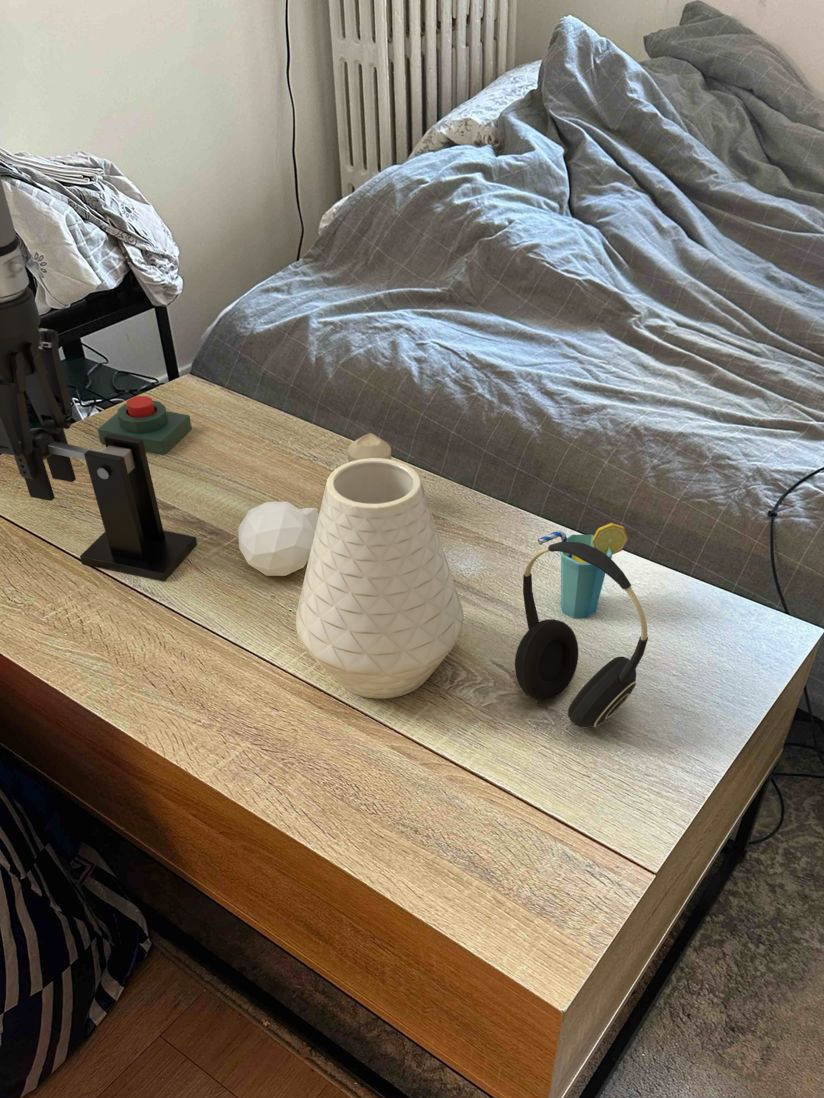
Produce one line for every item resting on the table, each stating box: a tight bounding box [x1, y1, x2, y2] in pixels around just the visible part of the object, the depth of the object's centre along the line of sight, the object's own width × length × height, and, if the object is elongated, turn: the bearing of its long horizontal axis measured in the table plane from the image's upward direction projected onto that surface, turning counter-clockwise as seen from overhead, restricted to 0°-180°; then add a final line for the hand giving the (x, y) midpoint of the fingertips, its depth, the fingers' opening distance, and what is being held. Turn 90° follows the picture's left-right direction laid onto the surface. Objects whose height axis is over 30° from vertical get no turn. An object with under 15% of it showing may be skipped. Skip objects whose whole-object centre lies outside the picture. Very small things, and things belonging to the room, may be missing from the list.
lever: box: [30, 427, 135, 474], centre depth 110 cm, size 13×4×4 cm, turn 75°
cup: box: [537, 522, 629, 619], centre depth 110 cm, size 11×6×12 cm, turn 117°
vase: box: [295, 458, 465, 700], centre depth 98 cm, size 18×17×23 cm
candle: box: [346, 432, 392, 463], centre depth 125 cm, size 6×6×10 cm
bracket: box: [79, 433, 198, 582], centre depth 113 cm, size 11×8×15 cm
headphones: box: [514, 541, 649, 729], centre depth 95 cm, size 9×15×20 cm, turn 49°
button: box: [125, 395, 155, 418], centre depth 136 cm, size 4×4×2 cm
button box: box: [97, 400, 193, 456], centre depth 138 cm, size 10×8×4 cm
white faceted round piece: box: [237, 501, 319, 577], centre depth 116 cm, size 9×9×12 cm
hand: (53, 487), depth 115 cm, fingers closed on lever, 4 cm apart
